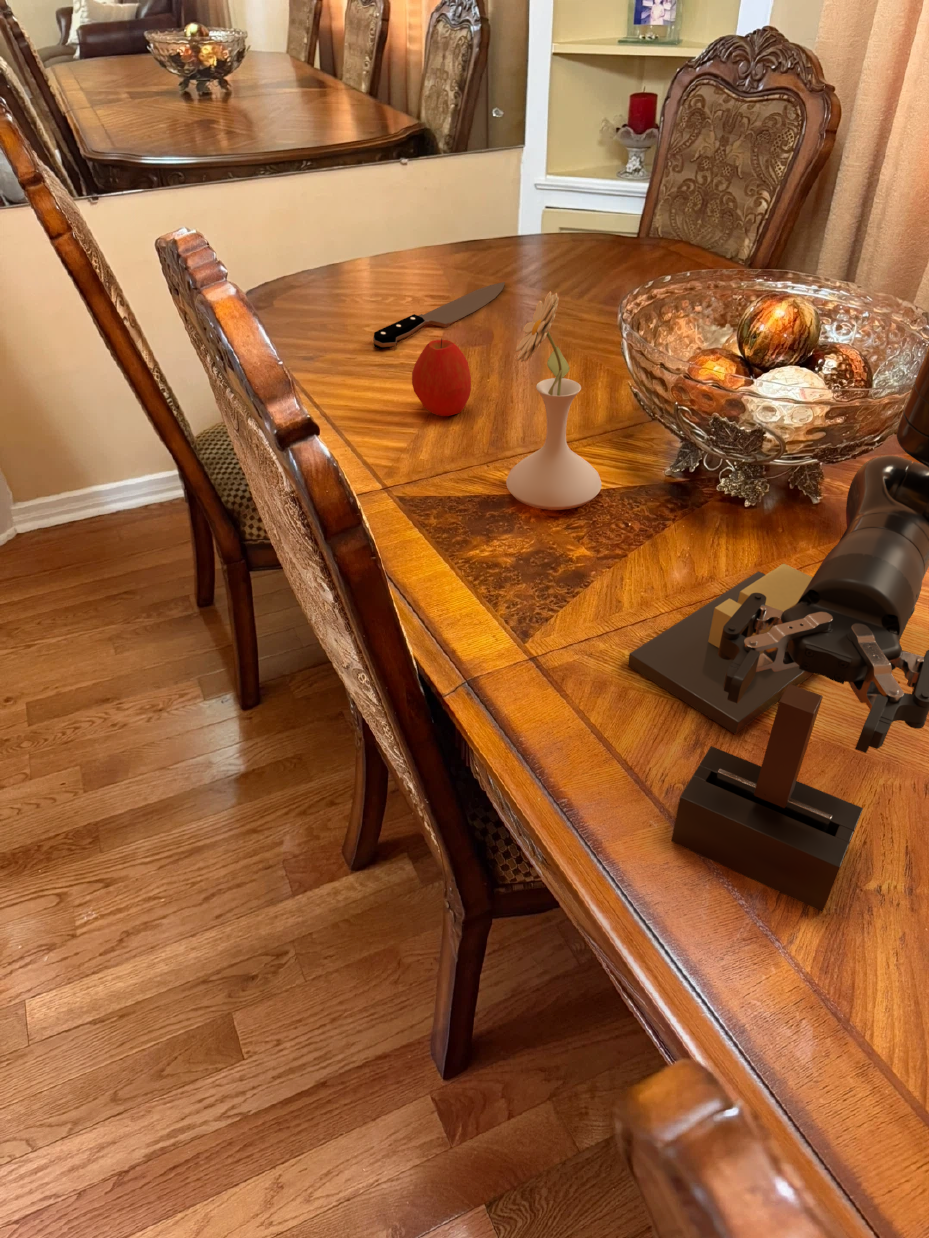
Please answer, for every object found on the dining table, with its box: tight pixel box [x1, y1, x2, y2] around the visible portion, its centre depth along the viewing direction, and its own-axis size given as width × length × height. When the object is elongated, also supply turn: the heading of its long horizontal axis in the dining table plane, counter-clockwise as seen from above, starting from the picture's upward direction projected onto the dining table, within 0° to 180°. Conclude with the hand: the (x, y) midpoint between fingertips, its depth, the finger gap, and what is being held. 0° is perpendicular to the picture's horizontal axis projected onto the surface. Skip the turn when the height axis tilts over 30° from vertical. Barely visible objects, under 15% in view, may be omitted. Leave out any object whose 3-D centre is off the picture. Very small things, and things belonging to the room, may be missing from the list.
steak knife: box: [372, 281, 506, 350], centre depth 158 cm, size 5×41×2 cm, turn 147°
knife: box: [715, 684, 832, 833], centre depth 61 cm, size 2×8×15 cm, turn 57°
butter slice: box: [708, 599, 770, 654], centre depth 81 cm, size 2×4×4 cm, turn 40°
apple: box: [411, 338, 472, 417], centre depth 124 cm, size 8×8×11 cm
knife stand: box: [670, 745, 864, 913], centre depth 64 cm, size 6×11×5 cm, turn 56°
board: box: [627, 571, 815, 735], centre depth 83 cm, size 20×12×2 cm, turn 130°
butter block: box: [738, 562, 813, 631], centre depth 84 cm, size 7×4×4 cm, turn 131°
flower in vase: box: [505, 290, 603, 511], centre depth 99 cm, size 13×11×25 cm
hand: (797, 716), depth 58 cm, fingers open, 8 cm apart
